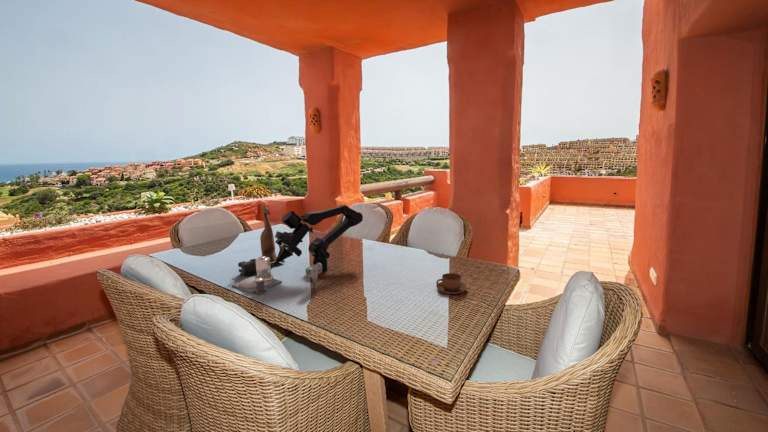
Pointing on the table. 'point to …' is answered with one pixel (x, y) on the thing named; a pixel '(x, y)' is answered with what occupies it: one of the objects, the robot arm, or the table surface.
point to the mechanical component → (314, 273)
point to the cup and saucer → (451, 284)
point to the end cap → (247, 267)
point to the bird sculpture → (268, 238)
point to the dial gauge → (260, 286)
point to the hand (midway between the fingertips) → (276, 262)
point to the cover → (264, 268)
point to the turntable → (253, 284)
